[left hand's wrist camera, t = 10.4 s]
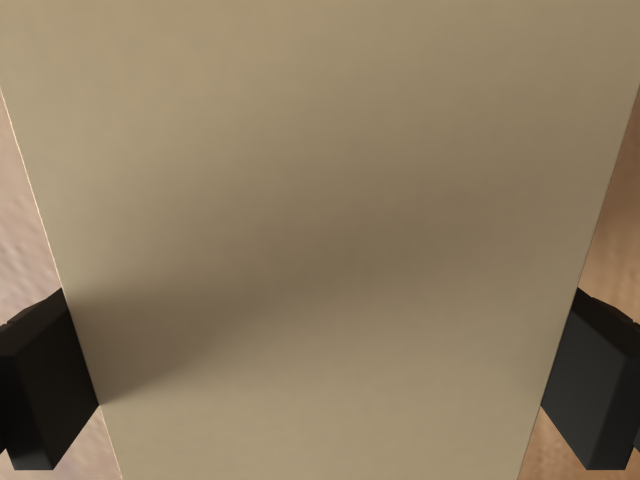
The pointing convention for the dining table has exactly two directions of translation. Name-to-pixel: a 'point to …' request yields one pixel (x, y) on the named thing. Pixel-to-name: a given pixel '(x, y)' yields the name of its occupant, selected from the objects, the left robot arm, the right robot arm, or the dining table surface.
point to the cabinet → (319, 219)
